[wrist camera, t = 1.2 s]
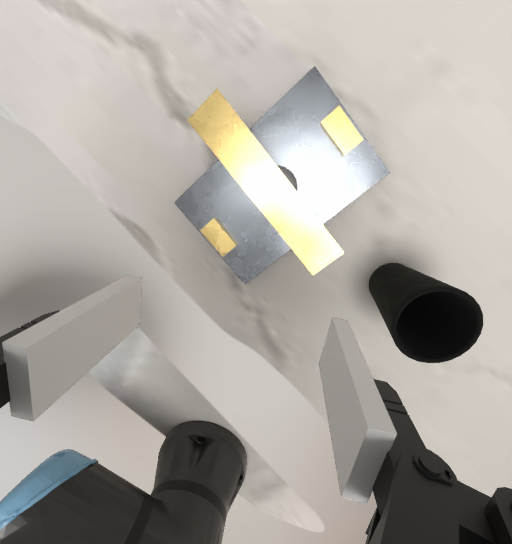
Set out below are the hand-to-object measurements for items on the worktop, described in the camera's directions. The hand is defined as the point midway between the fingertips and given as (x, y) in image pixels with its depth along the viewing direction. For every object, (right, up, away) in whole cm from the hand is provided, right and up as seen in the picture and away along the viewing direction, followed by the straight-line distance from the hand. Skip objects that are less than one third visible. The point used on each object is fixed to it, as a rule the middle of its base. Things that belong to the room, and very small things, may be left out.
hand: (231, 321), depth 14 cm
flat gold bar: (+3, +11, +14) cm, 18 cm away
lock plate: (+4, +13, +20) cm, 25 cm away
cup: (+19, +1, +22) cm, 29 cm away
